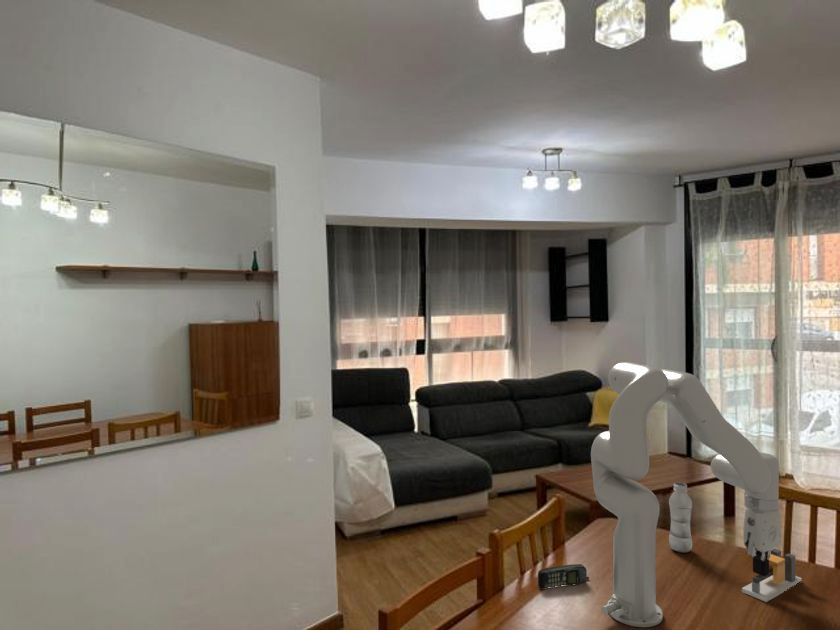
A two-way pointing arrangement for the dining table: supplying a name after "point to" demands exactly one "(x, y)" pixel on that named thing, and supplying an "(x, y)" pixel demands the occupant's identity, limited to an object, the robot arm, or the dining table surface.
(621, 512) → the robot arm
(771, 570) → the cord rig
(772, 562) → the orange bracket
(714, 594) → the dining table surface
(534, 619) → the dining table surface
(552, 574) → the mobile phone
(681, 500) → the plastic bottle
